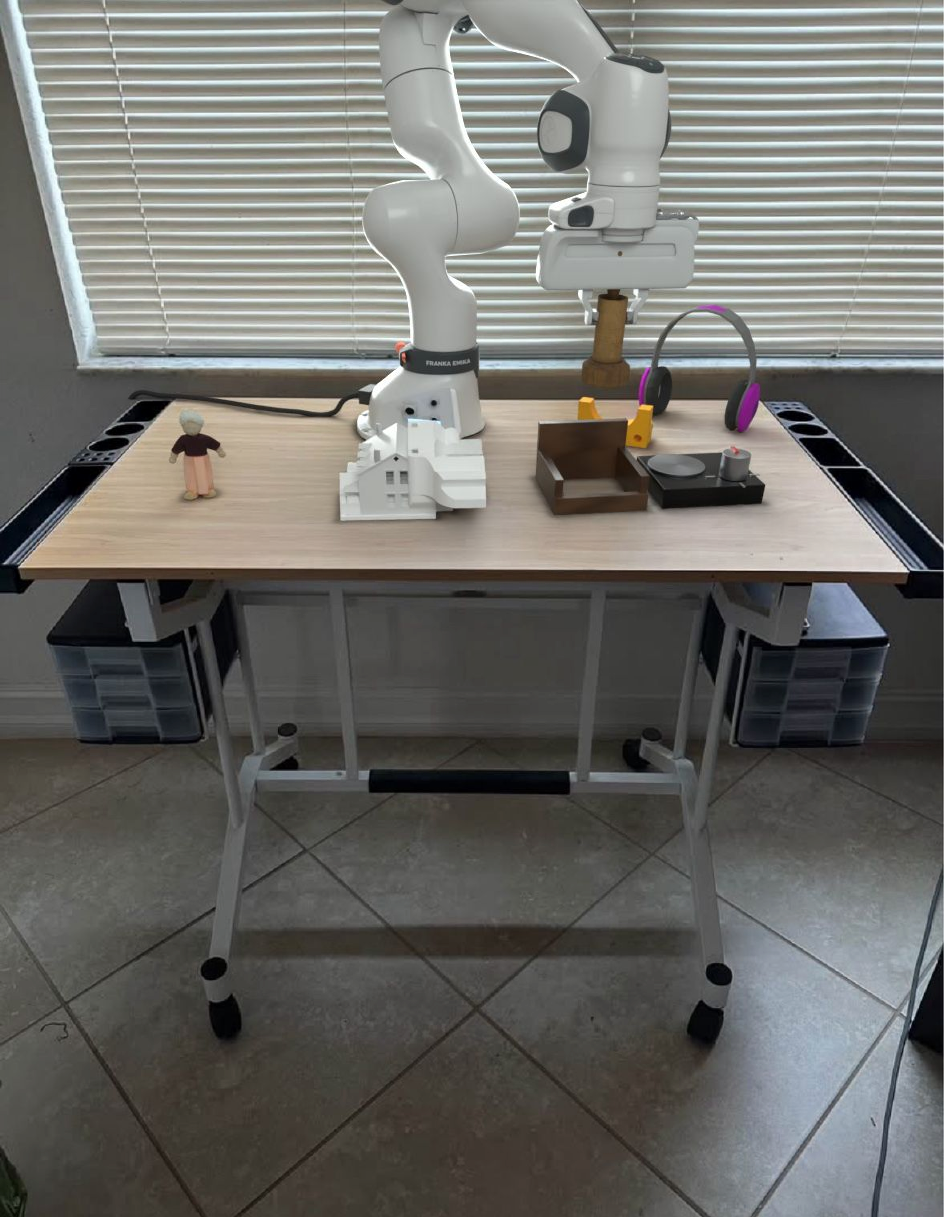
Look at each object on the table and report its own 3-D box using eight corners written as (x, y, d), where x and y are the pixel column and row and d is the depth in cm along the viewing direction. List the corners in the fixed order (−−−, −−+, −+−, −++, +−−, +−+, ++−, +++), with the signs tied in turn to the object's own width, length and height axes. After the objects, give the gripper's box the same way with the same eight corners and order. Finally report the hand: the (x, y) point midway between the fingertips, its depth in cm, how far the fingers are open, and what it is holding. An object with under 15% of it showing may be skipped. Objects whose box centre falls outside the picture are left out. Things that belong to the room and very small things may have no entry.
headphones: (758, 426, 151) (781, 309, 140) (743, 440, 144) (766, 319, 134) (649, 405, 160) (662, 295, 150) (630, 417, 154) (643, 303, 143)
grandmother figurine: (179, 504, 120) (163, 417, 113) (174, 494, 123) (158, 409, 116) (233, 494, 123) (221, 410, 116) (227, 485, 126) (214, 402, 119)
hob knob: (751, 481, 121) (756, 456, 119) (724, 481, 121) (728, 456, 119) (741, 470, 125) (745, 445, 123) (714, 471, 124) (719, 446, 122)
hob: (663, 510, 120) (666, 490, 118) (634, 474, 131) (637, 454, 129) (767, 505, 121) (771, 485, 120) (730, 469, 133) (733, 450, 131)
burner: (657, 478, 122) (658, 476, 122) (640, 457, 129) (640, 455, 129) (713, 476, 123) (714, 473, 123) (693, 455, 130) (693, 452, 130)
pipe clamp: (650, 439, 144) (655, 402, 141) (645, 448, 141) (650, 410, 137) (582, 430, 148) (585, 393, 145) (576, 438, 144) (578, 401, 141)
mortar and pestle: (627, 389, 113) (643, 245, 103) (578, 386, 114) (590, 242, 104) (629, 375, 118) (644, 237, 109) (583, 372, 119) (594, 234, 110)
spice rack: (554, 515, 118) (558, 454, 113) (535, 477, 129) (538, 421, 125) (646, 510, 120) (654, 450, 115) (620, 474, 131) (626, 418, 126)
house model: (346, 481, 127) (342, 418, 122) (478, 479, 129) (479, 416, 124) (337, 537, 111) (332, 467, 106) (488, 534, 113) (490, 465, 107)
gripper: (692, 206, 109) (677, 317, 116) (536, 206, 106) (531, 319, 114) (710, 212, 103) (693, 328, 111) (546, 213, 101) (540, 331, 108)
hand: (609, 324), depth 112 cm, fingers closed on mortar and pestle, 4 cm apart
